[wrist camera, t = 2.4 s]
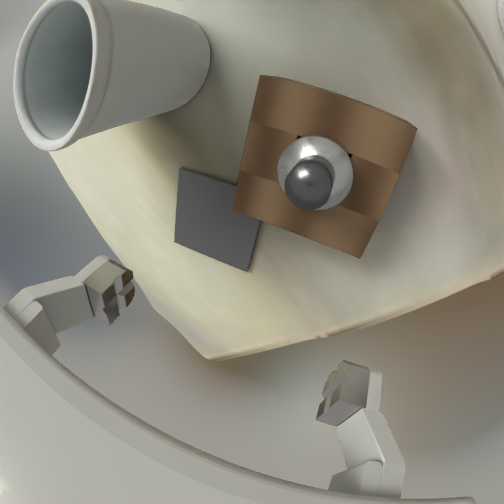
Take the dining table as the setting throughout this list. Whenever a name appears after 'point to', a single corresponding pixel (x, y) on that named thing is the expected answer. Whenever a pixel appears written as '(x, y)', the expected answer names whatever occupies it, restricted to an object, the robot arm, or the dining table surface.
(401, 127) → the socket block
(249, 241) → the mat
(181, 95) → the utensil holder
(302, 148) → the end cover
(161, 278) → the dining table surface
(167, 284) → the dining table surface
